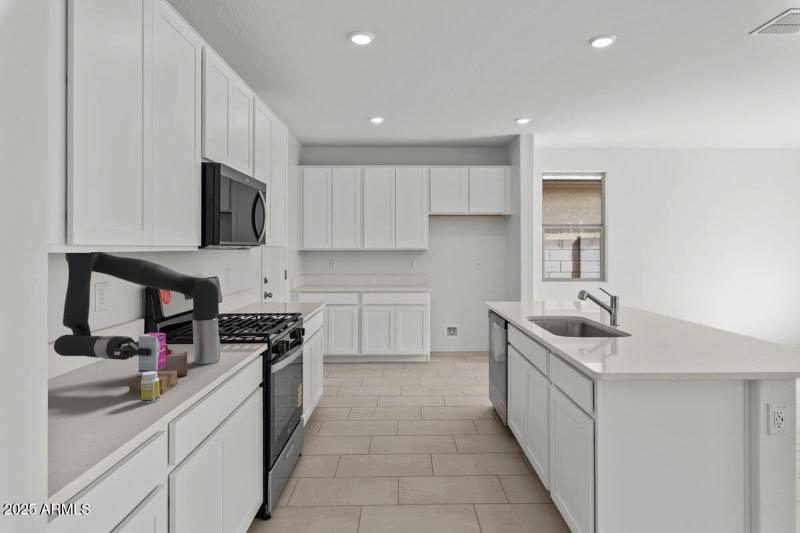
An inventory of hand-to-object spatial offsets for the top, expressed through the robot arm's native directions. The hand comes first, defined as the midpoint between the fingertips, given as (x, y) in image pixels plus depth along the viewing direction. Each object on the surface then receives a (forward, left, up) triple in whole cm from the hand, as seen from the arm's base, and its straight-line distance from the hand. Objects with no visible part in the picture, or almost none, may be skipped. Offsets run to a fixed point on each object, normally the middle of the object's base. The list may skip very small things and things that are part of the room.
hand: (158, 349), depth 143 cm
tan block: (0, -2, -13) cm, 14 cm away
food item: (-15, -10, -13) cm, 22 cm away
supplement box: (0, -2, -7) cm, 7 cm away
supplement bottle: (+9, +5, -13) cm, 17 cm away
